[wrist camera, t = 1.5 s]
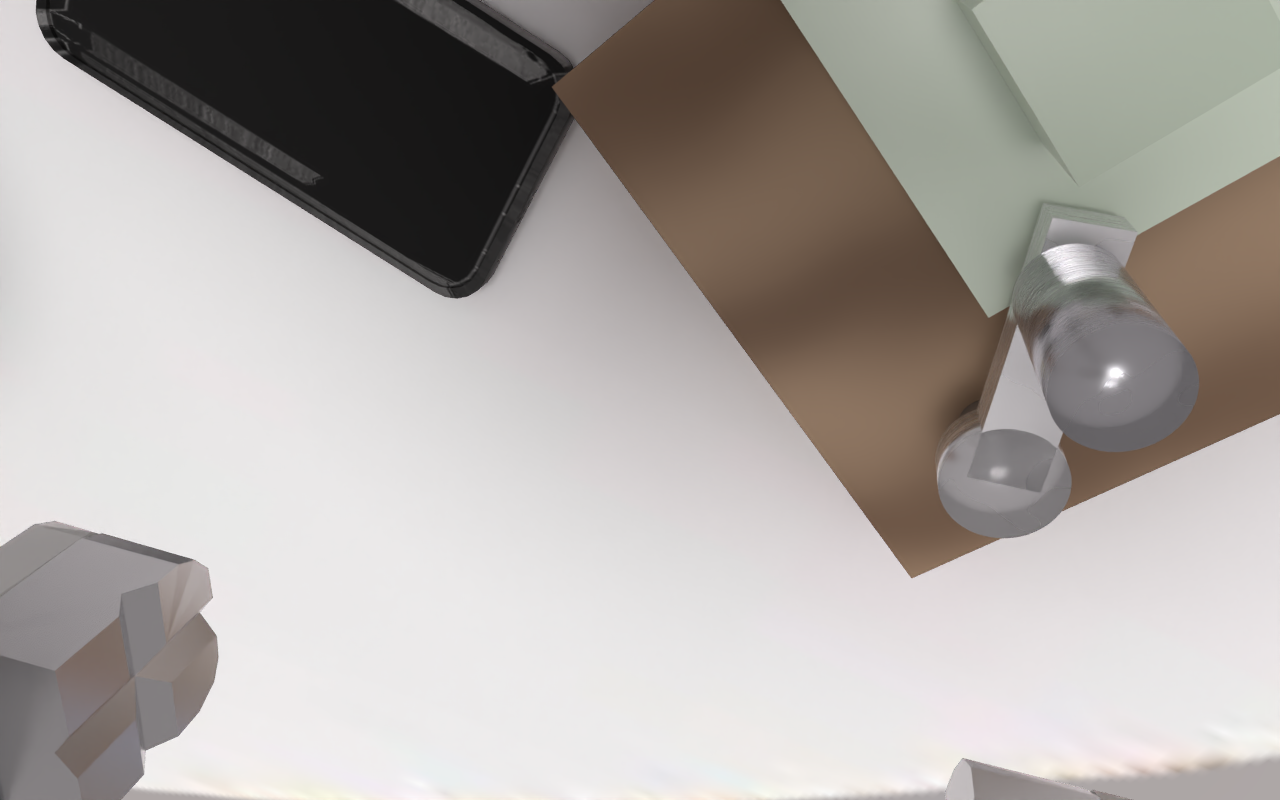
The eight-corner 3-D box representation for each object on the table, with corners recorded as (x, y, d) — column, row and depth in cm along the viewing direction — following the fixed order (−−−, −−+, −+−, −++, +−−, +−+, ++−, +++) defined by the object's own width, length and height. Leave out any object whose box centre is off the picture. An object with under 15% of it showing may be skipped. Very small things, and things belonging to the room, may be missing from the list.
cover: (767, -32, 20) (735, -25, 16) (1190, -374, 17) (1310, -497, 12) (983, 300, 22) (1010, 390, 18) (1406, 60, 19) (1579, 97, 14)
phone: (85, -246, 24) (588, 79, 24) (117, -238, 25) (599, 74, 25) (28, 39, 28) (466, 316, 28) (57, 37, 29) (480, 303, 29)
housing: (585, 72, 25) (532, 94, 21) (1431, -634, 17) (1597, -809, 13) (908, 520, 29) (913, 609, 25) (1742, 123, 20) (1947, 164, 16)
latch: (1040, 522, 23) (1088, 690, 18) (921, 496, 23) (934, 652, 18) (1155, 221, 19) (1254, 321, 14) (1013, 197, 20) (1060, 285, 15)
